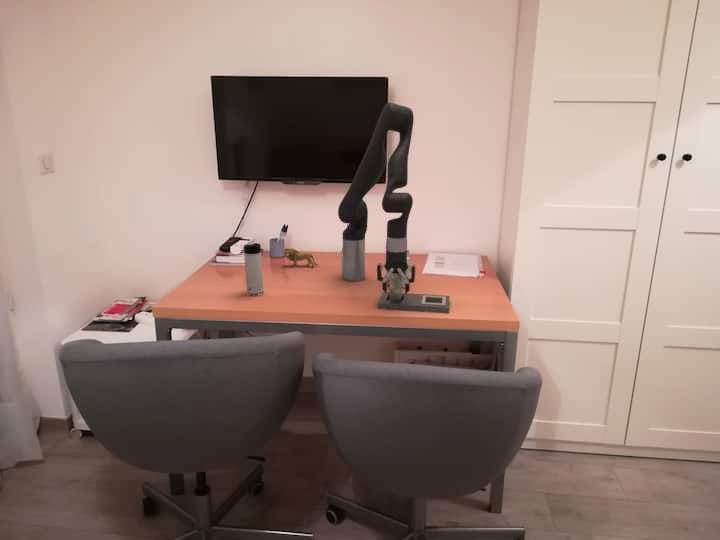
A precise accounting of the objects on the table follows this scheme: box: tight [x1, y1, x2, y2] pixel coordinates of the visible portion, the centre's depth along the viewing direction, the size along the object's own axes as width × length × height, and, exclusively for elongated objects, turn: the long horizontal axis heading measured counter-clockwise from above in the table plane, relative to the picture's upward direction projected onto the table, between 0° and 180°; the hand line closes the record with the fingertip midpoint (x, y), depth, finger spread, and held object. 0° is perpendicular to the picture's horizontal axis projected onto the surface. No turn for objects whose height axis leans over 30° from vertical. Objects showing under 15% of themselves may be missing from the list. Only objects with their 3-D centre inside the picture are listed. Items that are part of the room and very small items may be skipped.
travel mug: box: [243, 243, 264, 296], centre depth 202 cm, size 6×7×20 cm
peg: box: [388, 273, 403, 302], centre depth 193 cm, size 4×4×12 cm
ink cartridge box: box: [385, 249, 411, 289], centre depth 212 cm, size 9×5×15 cm, turn 71°
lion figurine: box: [283, 247, 319, 269], centre depth 237 cm, size 15×5×9 cm, turn 96°
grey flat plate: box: [377, 291, 451, 314], centre depth 194 cm, size 25×12×2 cm, turn 80°
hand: (395, 292), depth 194 cm, fingers open, 7 cm apart
